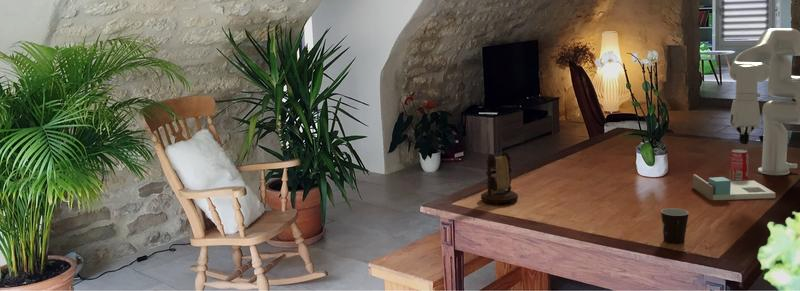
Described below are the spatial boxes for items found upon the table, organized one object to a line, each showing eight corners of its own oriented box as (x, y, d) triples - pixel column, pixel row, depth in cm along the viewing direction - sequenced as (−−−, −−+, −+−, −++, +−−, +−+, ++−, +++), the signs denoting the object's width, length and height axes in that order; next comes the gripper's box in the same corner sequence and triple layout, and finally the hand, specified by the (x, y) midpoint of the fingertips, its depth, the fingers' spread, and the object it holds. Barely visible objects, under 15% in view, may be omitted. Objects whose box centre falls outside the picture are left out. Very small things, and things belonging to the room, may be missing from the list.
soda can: (749, 182, 333) (750, 152, 330) (731, 182, 334) (732, 152, 331) (745, 178, 339) (747, 149, 337) (727, 178, 341) (729, 149, 338)
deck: (753, 185, 329) (754, 172, 328) (775, 198, 309) (776, 184, 308) (692, 187, 329) (693, 174, 328) (710, 200, 310) (711, 186, 309)
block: (722, 190, 316) (723, 176, 314) (730, 194, 310) (730, 180, 309) (708, 191, 315) (708, 177, 314) (715, 195, 309) (716, 181, 308)
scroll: (494, 208, 311) (493, 158, 307) (474, 200, 323) (473, 152, 319) (525, 202, 317) (525, 153, 313) (504, 194, 330) (503, 147, 326)
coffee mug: (664, 235, 270) (665, 207, 268) (690, 239, 266) (691, 210, 264) (654, 245, 261) (654, 215, 259) (680, 249, 256) (681, 219, 254)
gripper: (761, 94, 310) (759, 141, 314) (722, 96, 310) (720, 142, 314) (769, 97, 303) (767, 144, 306) (730, 99, 303) (728, 146, 307)
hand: (743, 143), depth 310 cm, fingers closed
